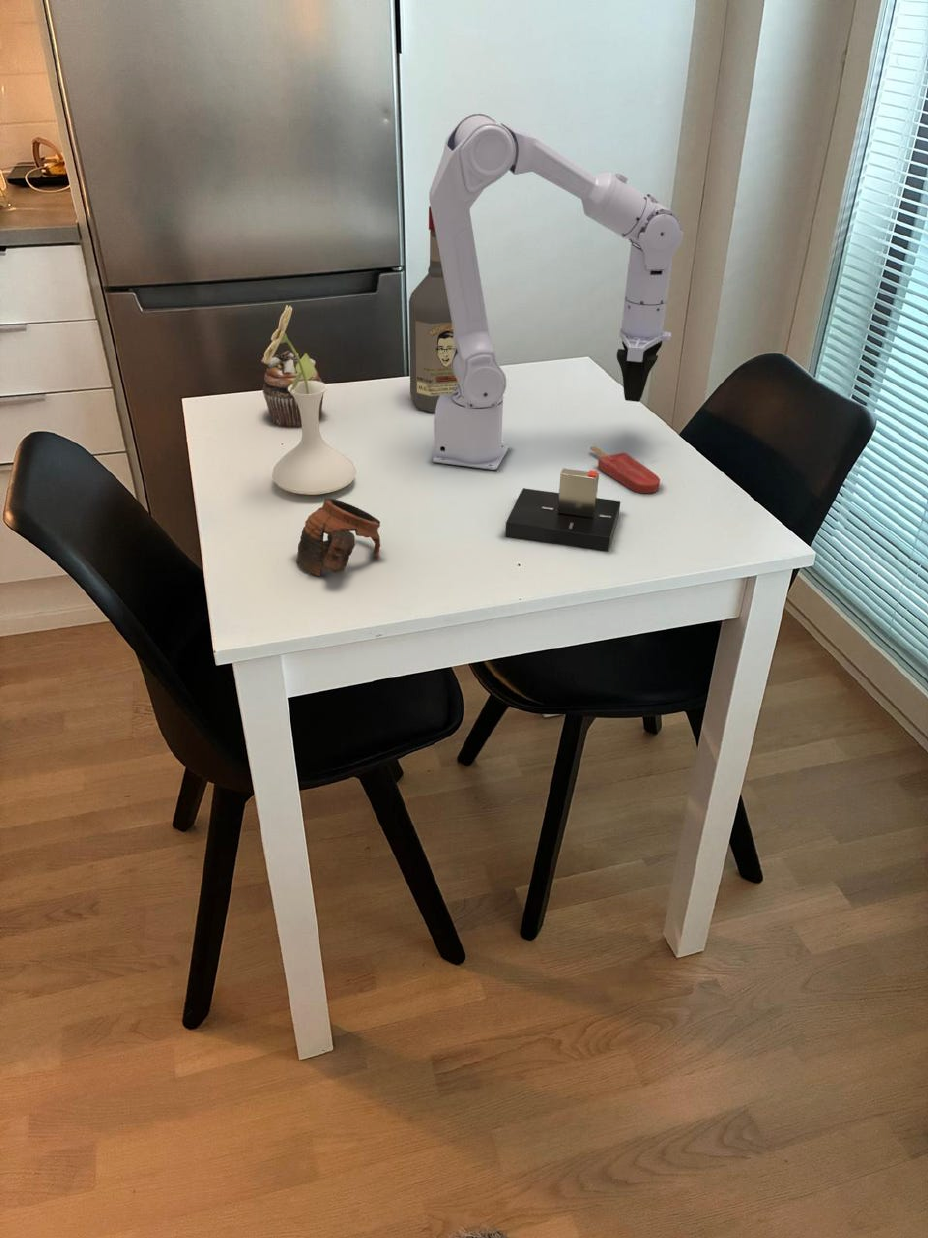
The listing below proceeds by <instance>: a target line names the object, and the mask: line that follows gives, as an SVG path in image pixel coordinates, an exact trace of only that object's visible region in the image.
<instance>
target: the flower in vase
mask: <svg viewBox="0 0 928 1238" xmlns="http://www.w3.org/2000/svg"><path fill="white" fill-rule="evenodd" d="M292 312H293V306H291V305H289V306H288V304H286V305H285V307H284V311H283V313H282V314H281V315H280V318H279V322H278V328H277V329H275V331H274V332H273V333H272V335H271V337H270V340H271V341H272V342H271V343H270V344H269V346H268V347H267V348H266V350H265V351H264V353H263V357H262V359H261V363H263V364H265V365H268V363H269V361H270V360H271V358H272V357H273V355H275V353H276V352H277V350H278V348H279V346H280V344H285V343H286V344H287V345H288V347H289V348H290V350H292V352H293V353H294V355H295V357H296V359H297V361H298V363H297V365H296V371H297V373H298V375H297V376H296V377H295V379H294V381H293V384H291V385H290V386H289V387H288V391H289V392H290V393H291V394H292V395H293V397H294V398H295V400H296V402H297V404H298V407H299V410H300V415H301V421H302V427H301V439H300V441H299V442H298V444H297V445H296V446H295V447H293V448H292V449H290V450H289V451H288V452H287V453H285V455H283V456H282V457H281V458H280V459H279V460H278V461H277V462H276V464H275V465H274V467H273V470H272V473H271V478H272V480H273V482H274V483H275V484H276V485H277V487H279V488H281V489H282V490H284V491H286V492H289V493H293V494H299V495H312V496H313V495H323V494H329V493H333V492H337V491H340V490H342V489H344V488H345V487H347V486H349V485H350V484H351V483H352V482H353V480H354V479H355V477H356V475H357V469H356V466H355V464H354V462H353V461H352V460H351V459H350V458H349V457H348V456H347V455H346V454H344V453H343V452H341V451H340V450H338V449H336V448H335V447H333V446H331V445H330V444H329V443H326V441H325V440H324V439H323V438H322V435H321V431H320V420H319V405H320V401H321V398H322V396H323V397H324V394H325V392H326V391H327V389H328V386H327V384H326V383H324V382H322V383H321V382H317V381H307V380H309V379H310V378H311V377H313V376H314V375H315V373H316V370H317V369H316V367H315V366H314V365H313V363H312V362H311V360H310V359H311V357H310V358H309V357H308V355H309V354H308V353H307V352H306V353H303V354H304V356H303V357H302V358H301V359H299V357H298V355H299V354H298V352H297V351H296V349H295V348H294V346H293V344H292V343H291V341H290V340H289V339H288V335H287V333H286V330H287V328H288V325H289V322H290V320H291V316H292ZM297 354H298V355H297ZM300 378H302V379H304V381H301V382H299V380H300Z"/></svg>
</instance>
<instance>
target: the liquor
mask: <svg viewBox="0 0 928 1238" xmlns="http://www.w3.org/2000/svg"><path fill="white" fill-rule="evenodd" d="M428 230H429V231H430V232H429V233H430V234H429V242H430V243H429V244H430V245H429V247H430V248H429V266H428V268H427V270H428V271H427V274H426V276H425V277H424V278H423V279H422V280H421V281H420V282H419V284H418V285H416V287H415V289H413V291H411V293H410V296H409V298H408V331H409V332H408V335H409V336H408V343H409V344H408V345H409V347H408V348H409V351H408V353H409V393H410V396H411V398H412V400H413V401H414V403H415V405H416V407H417V409H418V410H420V411H423V412H427V413H431V414H432V413H433V414H435V409H436V404H437V401H438V399H439V397H440V395H442V394H452V392H453V391H454V389H455V387H456V385H457V384H458V381H457V378H456V377H455V376H454V374H453V371H452V367H451V362H452V357H453V354H454V341H453V334H454V331H453V325H452V320H451V314H450V309H449V303H448V298H447V292H446V287H445V282H444V276H443V271H442V265H441V260H440V254H439V249H438V243H437V238H436V233H435V227H434V222H433V216H432V211H431V205H429V206H428Z"/></svg>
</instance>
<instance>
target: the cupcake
mask: <svg viewBox="0 0 928 1238" xmlns="http://www.w3.org/2000/svg"><path fill="white" fill-rule="evenodd" d="M304 354H305V353H303V354H300V355H299V353H297V355H298V357H299V359H301V358H302V357H303V356H304ZM307 355H308V357H309V358H310V360H311V362H312V363H313V365H314V367H315V366H316V360H314V358H311V356H310V355H309V354H307ZM297 363H298V361H297V359H296V357H295V355H294V353H293V352H292V350H291V349H290V350H288V351H284V352H282V353H281V354H274V355H273V357H272V358H271V360H270V361H269V363H268V364H267V366H268V367H267V368H266V371H265V373H264V375H263V380H264V383H263V384H262V389H261V390H262V394H263V397H264V400H265V403H266V406H267V409H268V413H269V417H270V420H271V422H272V423H274V424H275V425H278V426H281V427H285V428H286V427H287V428H300V427H301V428H302V421H301V415H300V410H299V407H298V404H297V402H296V400H295V398H294V397H293V395H292V394H291V393H290V392H289V391H288V387H289V386H290V385H291V384H293V381H294V379H295V377H296V376H297V375H298V373H297V371H296V365H297ZM301 381H304V379H302V378H300V380H299V382H301ZM307 381H317V382H321V383H323V380H322V378H321V377H320V376H319V372H318V370H317V369H316V373H315V375H314V376H313V377H311V378H310V379H309V380H307ZM323 400H324V395H323V396H322V398H321V401H320V405H319V421H320V420H321V418H322V409H323Z"/></svg>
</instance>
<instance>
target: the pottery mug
mask: <svg viewBox="0 0 928 1238" xmlns="http://www.w3.org/2000/svg"><path fill="white" fill-rule="evenodd" d="M380 527H381V521H380V520H379V519H377V518H376V517H375V516H374V515H372V514H370V513H369V512H367V511H365V510H363V509H361V508H359V507H357V506H355V505H352V504H349V503H347V502H344V501H342V500H338V499H335V498H325V499H324V500H323V504H322V506H321V507H318V509H316V510H315V511H314V512H312V513H311V514H310V515H308V517H307V519H306V520H305V522H304V526H303V527H302V530H301V535H300V537H299V538H300V540H299V543H298V544H297V557H296V561H297V564H299V565H300V567H302V568H303V569H304V570H305V571H307V572H309V573H311V574H313V575H316V576H317V577H320V576H321V575H322V568H323V567H324V568H325V569H326V570H327V571H329V572H330V573H341V572H344V571H345V570H346V567H347V565H348V563H349V562H348V561H349V558H350V556H351V555H352V553H353V551H354V548H355V545H356V543H355V542H356V540H355V539H356V538H355V535H356V536H357V537H364V538H371V540H372V541H373V542H374V549H373V553H372V554H373V556H374V557H376V558H377V557H378V556H379V552H380V547H381V538H380V535H379V531H378V530H379V528H380ZM353 531H354V532H355V534H354V533H353ZM324 534H325V535H327V537H326V538H327V540H324V536H325V535H324Z"/></svg>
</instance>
